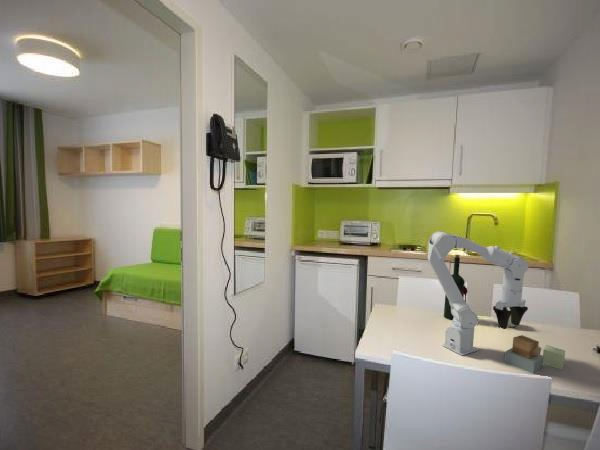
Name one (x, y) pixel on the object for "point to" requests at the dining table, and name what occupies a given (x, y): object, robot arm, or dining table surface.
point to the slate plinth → (524, 361)
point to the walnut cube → (525, 346)
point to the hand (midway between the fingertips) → (508, 326)
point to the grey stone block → (510, 321)
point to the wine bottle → (460, 285)
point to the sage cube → (553, 357)
